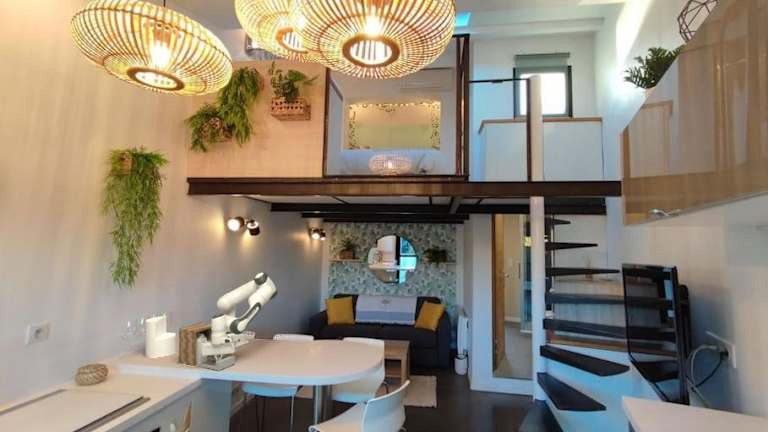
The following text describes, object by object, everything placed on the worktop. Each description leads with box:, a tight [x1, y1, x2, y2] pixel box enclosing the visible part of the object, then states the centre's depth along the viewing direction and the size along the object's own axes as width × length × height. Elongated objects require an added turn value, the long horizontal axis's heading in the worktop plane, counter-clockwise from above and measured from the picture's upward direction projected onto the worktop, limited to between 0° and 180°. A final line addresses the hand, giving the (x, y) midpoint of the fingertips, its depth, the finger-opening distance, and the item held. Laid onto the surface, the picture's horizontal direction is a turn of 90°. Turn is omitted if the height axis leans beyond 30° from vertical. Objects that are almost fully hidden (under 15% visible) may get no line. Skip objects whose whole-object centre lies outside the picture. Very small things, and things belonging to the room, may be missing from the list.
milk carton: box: [196, 333, 208, 364], centre depth 250 cm, size 7×7×19 cm
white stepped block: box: [145, 315, 177, 359], centre depth 268 cm, size 19×19×25 cm
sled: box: [196, 355, 236, 372], centre depth 246 cm, size 32×12×5 cm, turn 65°
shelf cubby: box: [178, 322, 215, 367], centre depth 250 cm, size 14×16×24 cm
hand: (218, 361), depth 242 cm, fingers closed
